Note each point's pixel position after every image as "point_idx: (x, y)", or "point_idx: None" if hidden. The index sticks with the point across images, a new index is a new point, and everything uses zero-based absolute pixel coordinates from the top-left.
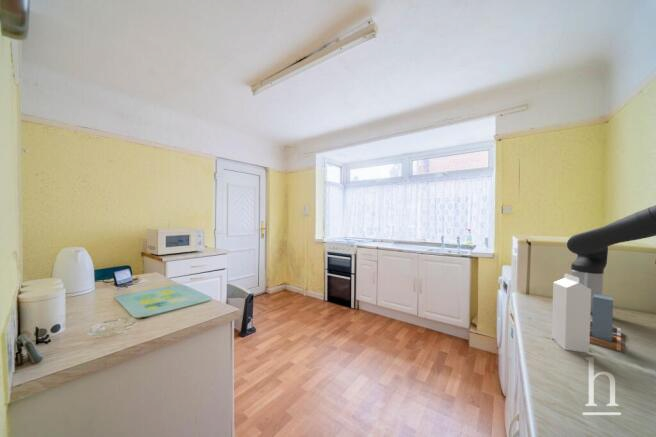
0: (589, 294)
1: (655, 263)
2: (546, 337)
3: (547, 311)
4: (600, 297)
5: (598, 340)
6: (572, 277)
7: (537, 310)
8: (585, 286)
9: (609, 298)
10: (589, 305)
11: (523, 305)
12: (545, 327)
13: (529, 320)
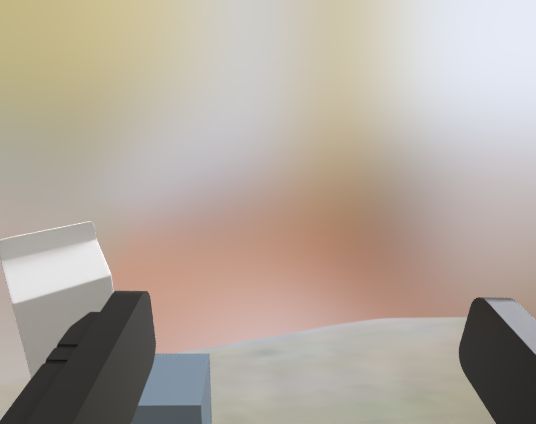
0: (17, 321)
1: (464, 346)
2: None
3: (391, 371)
4: (157, 371)
5: None
6: (42, 238)
7: (367, 354)
8: (7, 283)
9: (165, 394)
10: (27, 361)
11: (373, 327)
12: (217, 388)
13: (244, 355)
